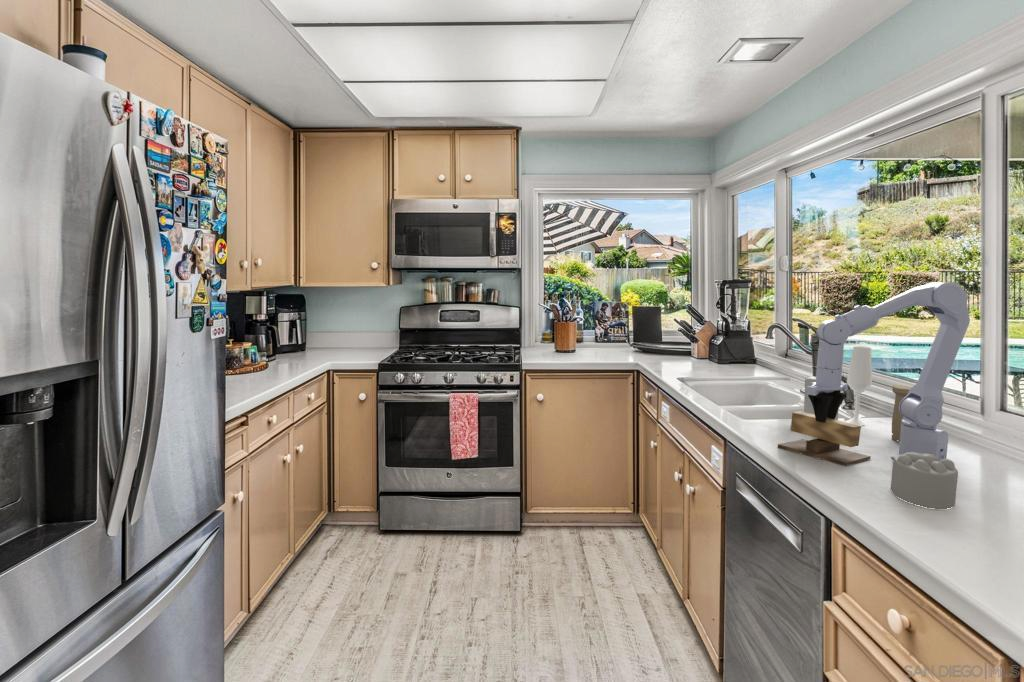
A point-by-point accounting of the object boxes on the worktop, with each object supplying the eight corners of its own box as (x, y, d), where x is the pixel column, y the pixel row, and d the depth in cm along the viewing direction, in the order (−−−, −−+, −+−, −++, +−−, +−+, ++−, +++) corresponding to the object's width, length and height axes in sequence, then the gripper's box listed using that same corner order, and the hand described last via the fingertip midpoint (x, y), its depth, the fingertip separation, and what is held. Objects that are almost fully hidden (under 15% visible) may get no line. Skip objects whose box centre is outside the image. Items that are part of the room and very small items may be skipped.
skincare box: (837, 427, 185) (841, 378, 183) (830, 430, 180) (834, 380, 179) (808, 422, 191) (812, 375, 189) (801, 425, 186) (804, 377, 185)
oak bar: (858, 445, 151) (861, 425, 150) (850, 447, 149) (853, 427, 148) (798, 429, 164) (800, 411, 163) (790, 430, 162) (792, 412, 162)
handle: (905, 438, 174) (910, 386, 172) (911, 444, 168) (916, 390, 166) (886, 436, 175) (890, 384, 174) (890, 442, 169) (895, 388, 168)
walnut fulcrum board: (870, 459, 152) (871, 445, 152) (845, 466, 146) (846, 451, 146) (802, 441, 167) (803, 429, 167) (777, 447, 161) (778, 434, 161)
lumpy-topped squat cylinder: (942, 492, 130) (946, 452, 129) (964, 514, 118) (969, 470, 117) (886, 485, 133) (889, 446, 132) (902, 506, 121) (906, 463, 120)
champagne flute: (863, 427, 185) (870, 348, 183) (839, 423, 190) (846, 346, 188) (871, 424, 190) (878, 347, 187) (848, 420, 195) (854, 345, 192)
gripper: (830, 363, 162) (826, 414, 163) (797, 367, 154) (793, 420, 155) (857, 367, 156) (852, 420, 157) (824, 371, 148) (820, 426, 149)
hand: (825, 420), depth 156 cm, fingers closed on oak bar, 3 cm apart
